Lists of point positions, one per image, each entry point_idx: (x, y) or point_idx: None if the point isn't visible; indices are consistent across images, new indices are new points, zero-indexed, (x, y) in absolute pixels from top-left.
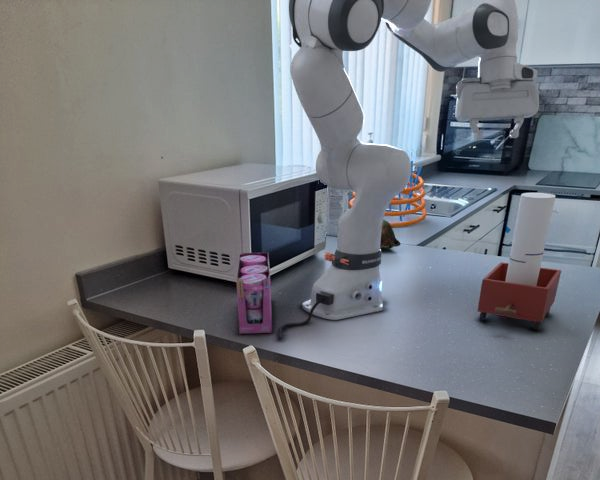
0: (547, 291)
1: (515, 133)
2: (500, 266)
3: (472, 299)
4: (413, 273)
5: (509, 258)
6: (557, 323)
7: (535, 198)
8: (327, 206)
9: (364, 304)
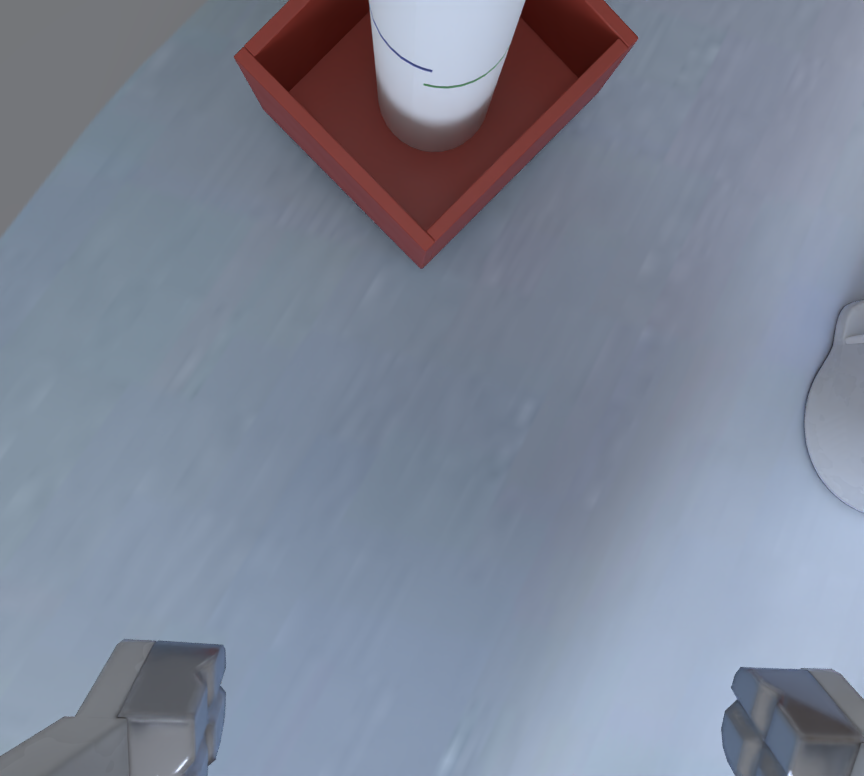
0: None
1: (174, 663)
2: (455, 201)
3: (475, 333)
4: (552, 698)
5: (502, 58)
6: None
7: None
8: None
9: None
